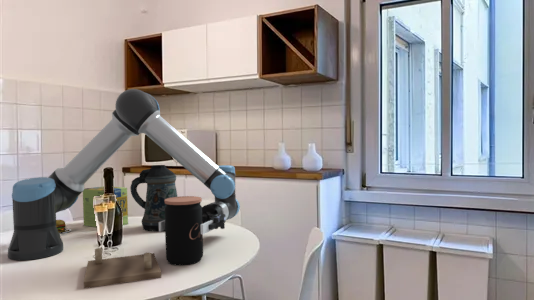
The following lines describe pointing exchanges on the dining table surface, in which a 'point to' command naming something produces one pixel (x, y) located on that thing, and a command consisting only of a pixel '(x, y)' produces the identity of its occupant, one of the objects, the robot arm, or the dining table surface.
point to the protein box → (97, 191)
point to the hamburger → (61, 226)
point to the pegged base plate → (120, 269)
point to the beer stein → (154, 194)
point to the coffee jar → (183, 230)
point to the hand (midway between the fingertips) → (180, 228)
